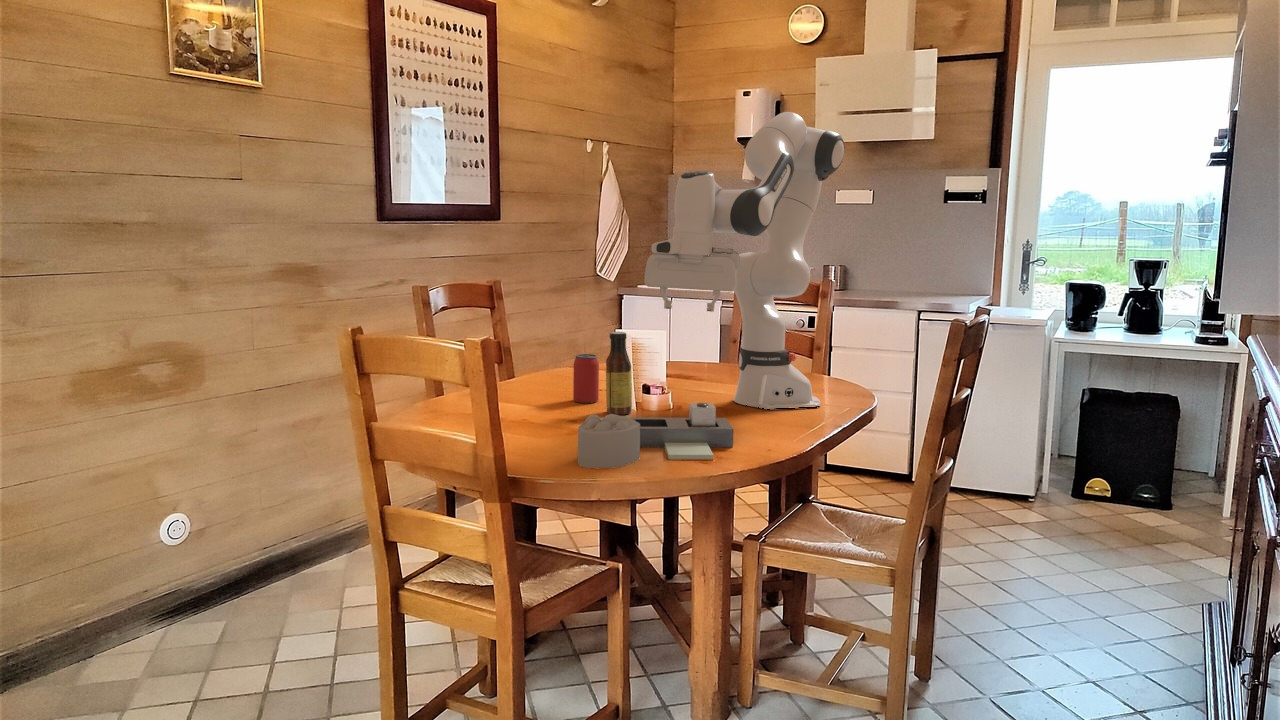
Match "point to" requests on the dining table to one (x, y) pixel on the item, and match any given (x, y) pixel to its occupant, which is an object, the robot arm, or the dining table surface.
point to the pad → (688, 451)
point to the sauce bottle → (618, 376)
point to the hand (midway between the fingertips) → (689, 310)
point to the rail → (683, 432)
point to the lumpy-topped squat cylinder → (608, 441)
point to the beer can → (586, 378)
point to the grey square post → (702, 415)
